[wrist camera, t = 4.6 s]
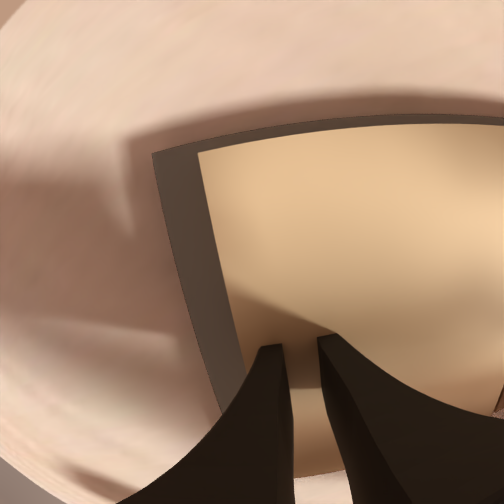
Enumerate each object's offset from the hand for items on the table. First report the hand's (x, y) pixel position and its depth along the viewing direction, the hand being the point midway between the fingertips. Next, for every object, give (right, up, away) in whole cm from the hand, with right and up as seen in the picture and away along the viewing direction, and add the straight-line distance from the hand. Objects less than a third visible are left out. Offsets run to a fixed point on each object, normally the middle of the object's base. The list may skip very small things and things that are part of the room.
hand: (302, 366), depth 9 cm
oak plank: (+4, +1, +1) cm, 4 cm away
